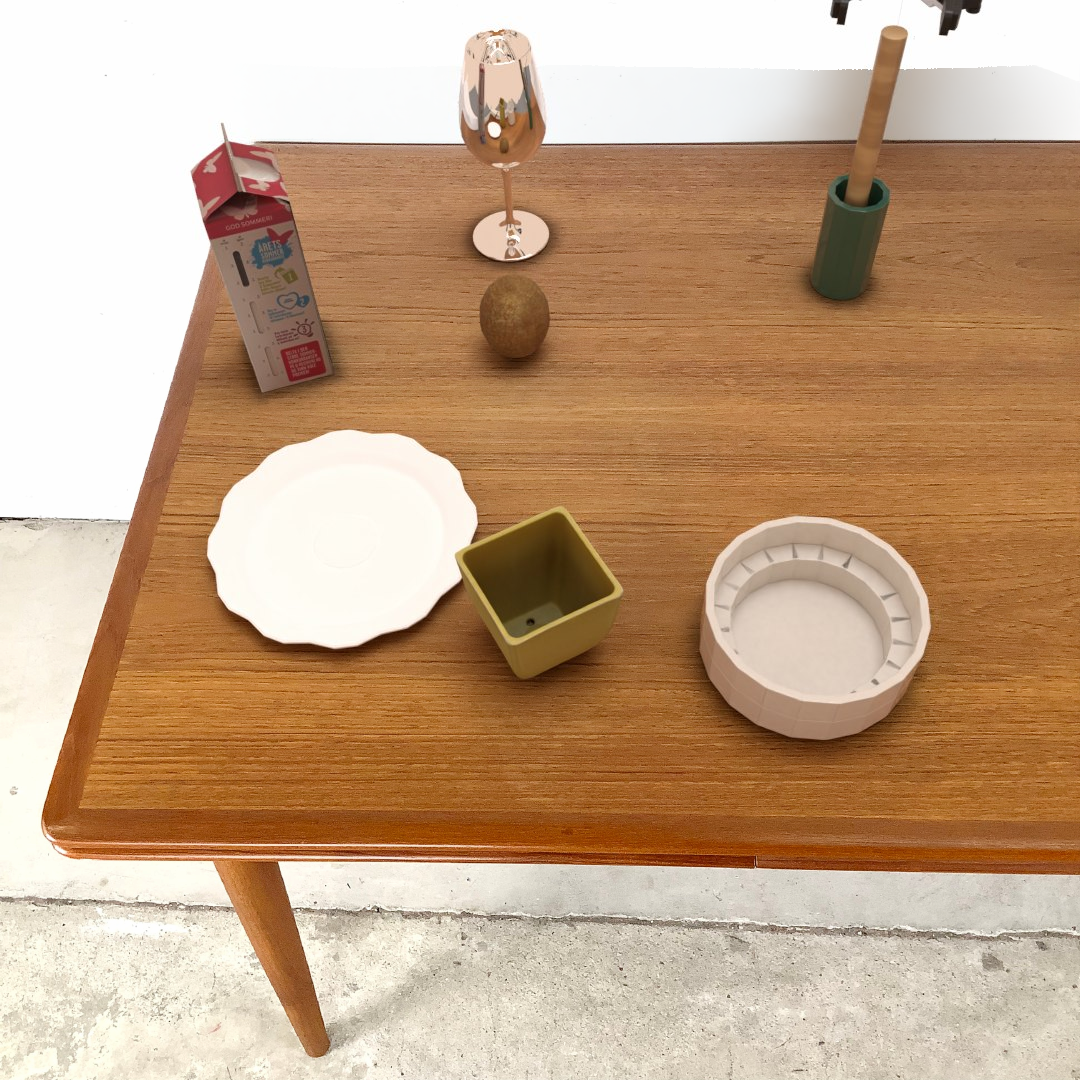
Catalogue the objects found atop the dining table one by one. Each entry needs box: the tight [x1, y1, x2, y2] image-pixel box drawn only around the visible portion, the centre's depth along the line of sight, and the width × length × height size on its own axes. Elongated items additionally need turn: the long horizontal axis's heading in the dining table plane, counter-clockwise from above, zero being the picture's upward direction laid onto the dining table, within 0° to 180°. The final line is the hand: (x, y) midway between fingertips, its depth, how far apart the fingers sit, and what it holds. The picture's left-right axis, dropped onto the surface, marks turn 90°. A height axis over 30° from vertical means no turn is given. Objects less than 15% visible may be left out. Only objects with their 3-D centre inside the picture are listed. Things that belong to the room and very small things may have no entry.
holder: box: [810, 173, 891, 301], centre depth 101 cm, size 5×5×10 cm
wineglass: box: [458, 28, 550, 263], centre depth 102 cm, size 8×8×20 cm
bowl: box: [699, 515, 932, 741], centre depth 80 cm, size 15×15×6 cm
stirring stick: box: [844, 24, 909, 208], centre depth 95 cm, size 3×2×24 cm
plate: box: [206, 429, 479, 650], centre depth 89 cm, size 21×21×2 cm
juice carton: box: [190, 122, 335, 393], centre depth 93 cm, size 7×7×22 cm
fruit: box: [479, 273, 551, 359], centre depth 98 cm, size 6×6×8 cm
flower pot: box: [455, 505, 624, 680], centre depth 80 cm, size 9×9×9 cm
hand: (894, 20), depth 94 cm, fingers open, 8 cm apart
